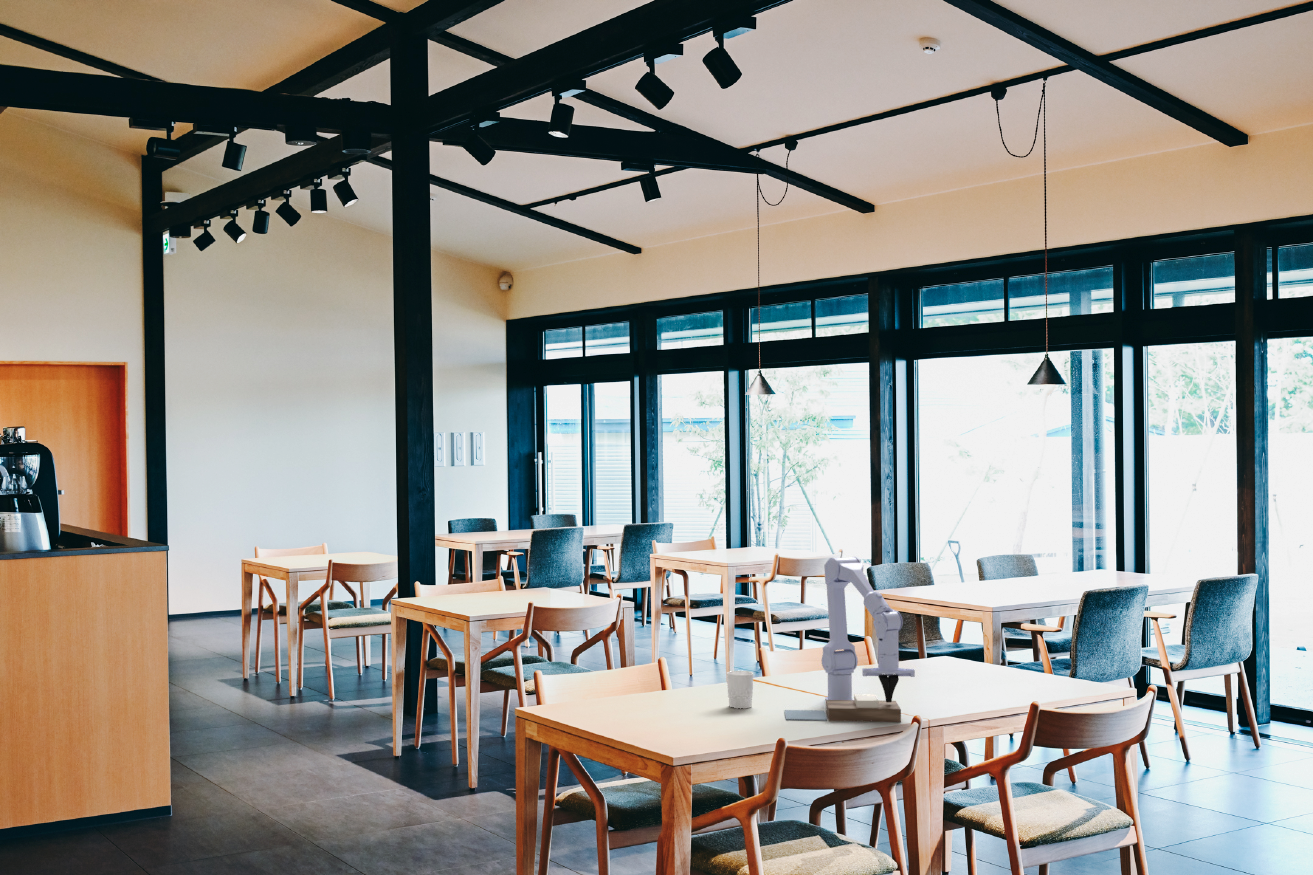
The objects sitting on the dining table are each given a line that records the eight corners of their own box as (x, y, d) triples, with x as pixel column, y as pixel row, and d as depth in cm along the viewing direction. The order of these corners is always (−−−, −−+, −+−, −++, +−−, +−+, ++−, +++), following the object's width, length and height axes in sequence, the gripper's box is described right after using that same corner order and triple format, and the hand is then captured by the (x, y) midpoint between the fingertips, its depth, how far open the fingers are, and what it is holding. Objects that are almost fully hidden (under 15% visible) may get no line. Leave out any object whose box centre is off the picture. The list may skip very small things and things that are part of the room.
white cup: (738, 710, 341) (738, 676, 342) (721, 705, 348) (721, 672, 348) (759, 706, 346) (758, 673, 346) (741, 702, 352) (741, 669, 353)
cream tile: (854, 701, 337) (854, 694, 337) (875, 701, 336) (875, 694, 336) (857, 707, 328) (856, 700, 328) (878, 707, 327) (878, 700, 327)
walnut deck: (826, 711, 339) (826, 699, 339) (895, 712, 337) (895, 700, 337) (828, 720, 327) (828, 708, 327) (900, 721, 325) (900, 709, 325)
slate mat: (784, 711, 340) (784, 709, 340) (824, 711, 339) (824, 710, 339) (785, 720, 328) (785, 718, 328) (827, 720, 327) (827, 719, 327)
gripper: (864, 655, 329) (864, 704, 328) (916, 656, 327) (916, 704, 327) (861, 651, 336) (861, 699, 335) (912, 652, 334) (912, 699, 334)
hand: (888, 701), depth 332 cm, fingers closed
